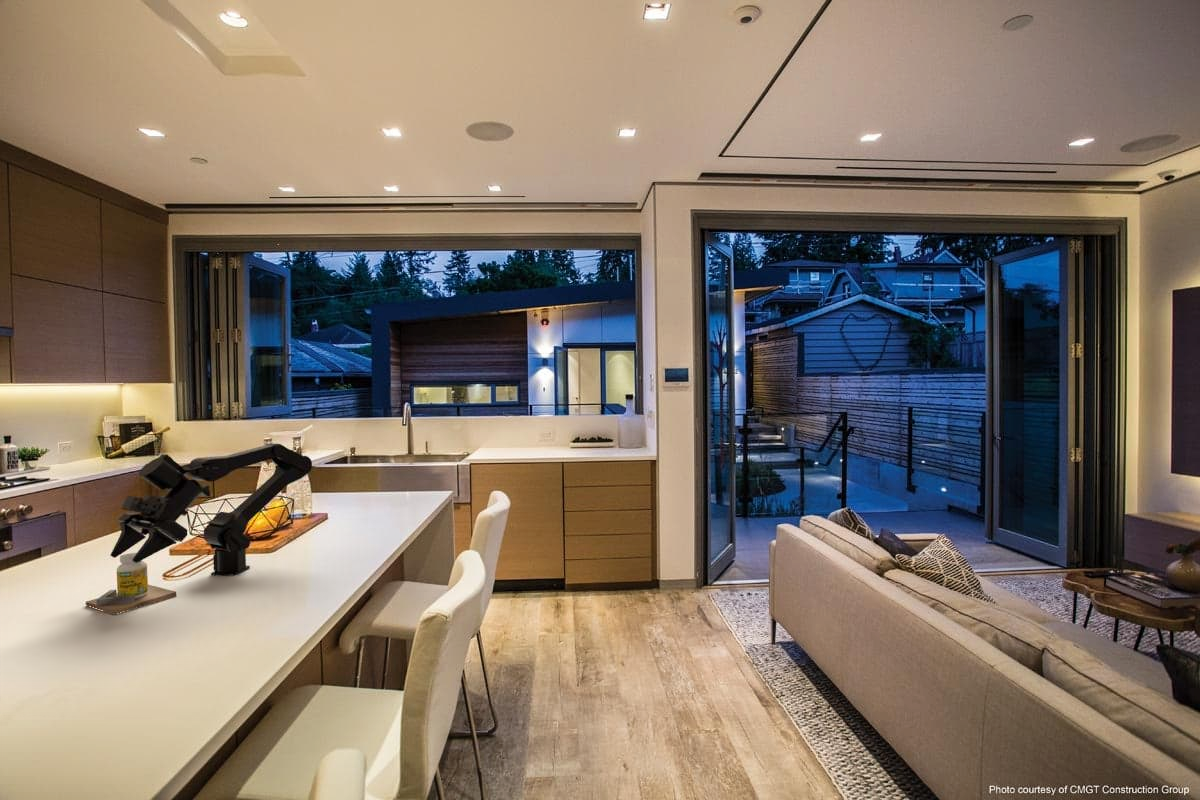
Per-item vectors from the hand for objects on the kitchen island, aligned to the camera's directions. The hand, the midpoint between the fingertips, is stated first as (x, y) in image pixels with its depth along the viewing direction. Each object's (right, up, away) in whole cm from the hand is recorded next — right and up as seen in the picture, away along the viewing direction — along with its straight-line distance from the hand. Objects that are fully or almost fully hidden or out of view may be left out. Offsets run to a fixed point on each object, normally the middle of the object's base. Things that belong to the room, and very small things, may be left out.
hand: (123, 559), depth 127 cm
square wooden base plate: (+1, -10, +2) cm, 10 cm away
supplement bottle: (+1, -9, +2) cm, 9 cm away
